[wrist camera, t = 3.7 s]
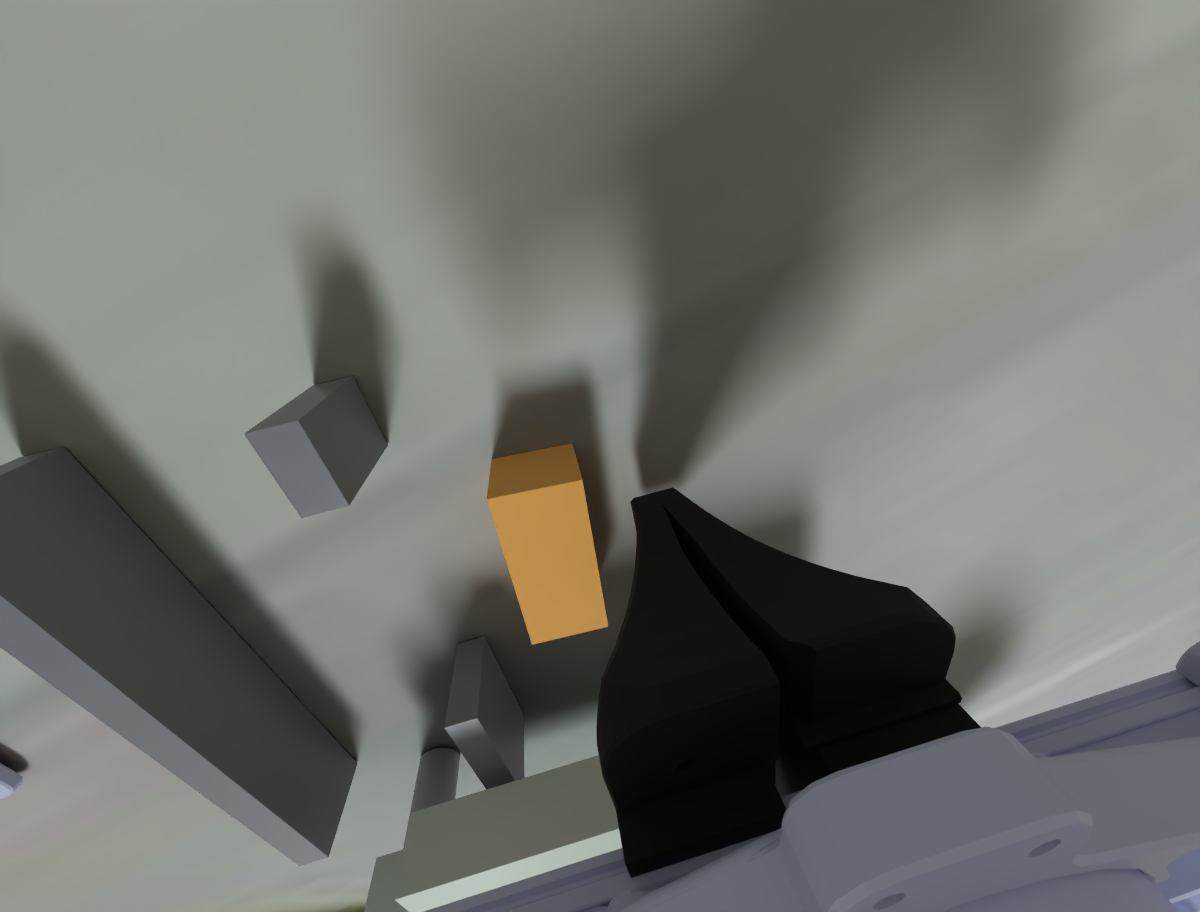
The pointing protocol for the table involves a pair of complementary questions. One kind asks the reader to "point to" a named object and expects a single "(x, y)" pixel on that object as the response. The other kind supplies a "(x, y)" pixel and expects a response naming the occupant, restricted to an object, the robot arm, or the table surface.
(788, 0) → the table surface
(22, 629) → the long grey beam
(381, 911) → the cover
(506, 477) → the orange cuboid brick
